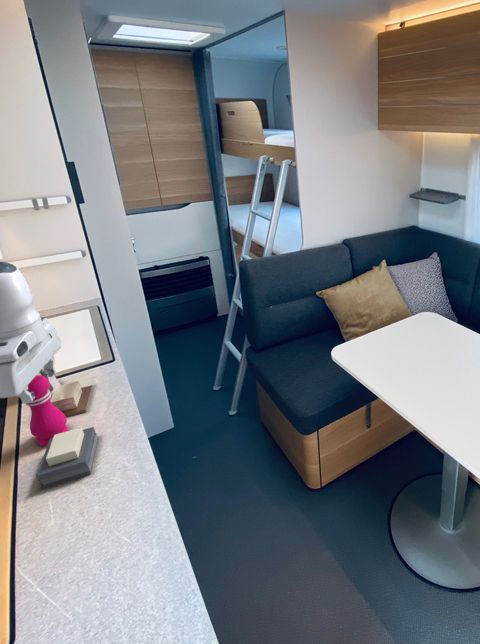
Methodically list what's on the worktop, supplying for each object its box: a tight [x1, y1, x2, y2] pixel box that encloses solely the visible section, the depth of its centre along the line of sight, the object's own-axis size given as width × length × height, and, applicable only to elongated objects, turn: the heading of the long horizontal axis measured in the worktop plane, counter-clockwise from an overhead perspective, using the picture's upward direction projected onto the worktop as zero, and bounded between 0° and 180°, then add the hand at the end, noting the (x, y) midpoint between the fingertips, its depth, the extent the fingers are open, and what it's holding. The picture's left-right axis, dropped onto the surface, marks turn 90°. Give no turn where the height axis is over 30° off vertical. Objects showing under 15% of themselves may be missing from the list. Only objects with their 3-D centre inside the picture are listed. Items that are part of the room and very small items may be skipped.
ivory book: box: [46, 427, 84, 466], centre depth 94 cm, size 6×8×2 cm
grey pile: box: [36, 426, 99, 490], centre depth 96 cm, size 9×12×4 cm
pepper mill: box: [25, 375, 69, 446], centre depth 100 cm, size 7×7×20 cm
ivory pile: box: [50, 380, 94, 418], centre depth 114 cm, size 10×12×5 cm
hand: (40, 387), depth 93 cm, fingers open, 8 cm apart
